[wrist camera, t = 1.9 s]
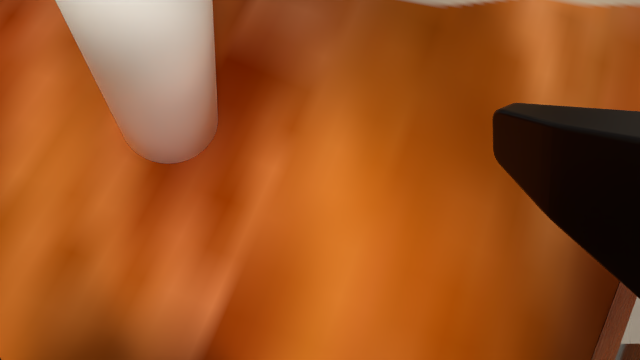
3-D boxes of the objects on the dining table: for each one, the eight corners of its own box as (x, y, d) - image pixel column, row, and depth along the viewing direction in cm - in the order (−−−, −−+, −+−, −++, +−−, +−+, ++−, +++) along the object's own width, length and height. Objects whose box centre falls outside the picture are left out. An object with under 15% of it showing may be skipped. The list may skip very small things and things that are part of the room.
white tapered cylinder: (165, 183, 23) (80, -42, 10) (98, 115, 23) (-73, -191, 10) (237, 120, 24) (248, -156, 11) (172, 56, 25) (106, -284, 11)
